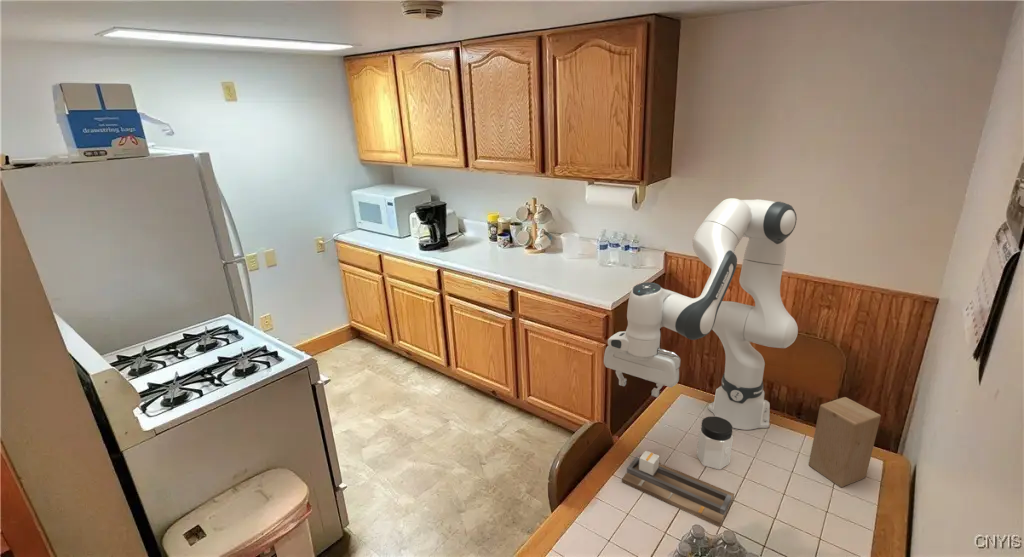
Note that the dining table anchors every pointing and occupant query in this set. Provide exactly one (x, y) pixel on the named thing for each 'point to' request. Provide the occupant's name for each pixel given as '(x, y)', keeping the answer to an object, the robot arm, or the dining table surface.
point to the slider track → (681, 491)
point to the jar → (715, 442)
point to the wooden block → (843, 441)
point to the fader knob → (649, 463)
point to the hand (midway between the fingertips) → (638, 390)
